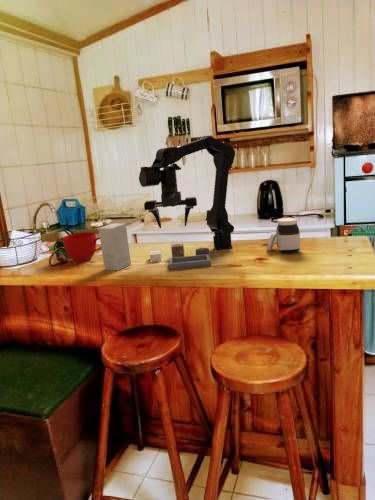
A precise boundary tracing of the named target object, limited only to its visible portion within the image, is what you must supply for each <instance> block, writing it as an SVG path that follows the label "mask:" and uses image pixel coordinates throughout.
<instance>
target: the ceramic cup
mask: <svg viewBox="0 0 375 500" xmlns="http://www.w3.org/2000/svg"><path fill="white" fill-rule="evenodd" d="M98 240H100V236H98V237H97V234H96V232H88V231H87V232H79V233H78V232H77V233H73V234H69V235H66V236H63V237H62V243H63V247H64V249H65V252H66V254H67V256H69V258H71V260H73V261H74V263H80V262H81V263H82V262H88V261H90V260H92V258H93V256H94V255H95V253H96V252H98V251H100V250H102V248H101V246H100V247H98V248H97V241H98Z"/></svg>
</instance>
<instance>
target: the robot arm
mask: <svg viewBox="0 0 375 500" xmlns="http://www.w3.org/2000/svg"><path fill="white" fill-rule="evenodd" d="M203 150H205V151H207V153H208V154H210V155H211V156H212V157H213V164H214V166H215V176H214V177H215V179H214V188H213V196H212V197H213V200H212V206H211V208H210V210H209V209H207V210H206V216H205V217H206V218H205V221H206V225H207V227H208V228H209V229H210V232H211V233H213V234H214V235H213V236H212V237H213V238H212V242H213V247H214V248H215V250H225V249H226V250H227V249H233V245H232V233H234V231H235V226H234V225H233V224H232V223H231V222H229V214H228V211H227V208H226V201H227V191H228V184H229V172H230V171H229V170H230V169H231V167H232V166H233V164H234V161H235V156H236V150H235V148H234V147H233V146H232V145H228V144H226V143H225V142H224V141H223V142H222V141H220V140H218V139H216V138H215V137H213V136H211V135H209V136H203V137H202V138H200V139H196V140H194V141H191V142H187V143H184V144H181V145H179V146H178V145H177V146H171V147H170V146H169V147H163V148H159V149H157V151H156V153H155V159H154V160H153V162H152V164H151V166H141V167H140V171H139V175H138V182H139V184H140V186H141V187H142V188H146V187H147V188H149V187H153V186H154V187H156V186H159V185H160V188H161V189H160V190H161V195H160V198H161V199H160V201H157V199H153V200H146V201H145V202H144V203H143V206H144V211H148V213H151V214H152V215H153V217H154V218H155V220H156V223H157V225H158V226H159V229H162V222H161V221H162V220H161V215H160V211H159V208H160V207H161V208H168V207H173V208H174V207H176V206H185V207H184V227H187V224H188V223H187V222H188V217H189V214H190V212H191V209H194V208H195V207H197V206H198V201H197V197H196V196H189V197H185V198H184V199H182V194H181V193H182V192H181V191H178V182H177V181H178V180H177V171H181V170H182V167H181V166H179V165H178V164H177V162H179V161H180V160H181V159H183V157H186V156H188V155H191V154H194V153H197V152H200V151H203Z"/></svg>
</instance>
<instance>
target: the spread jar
mask: <svg viewBox="0 0 375 500" xmlns="http://www.w3.org/2000/svg"><path fill="white" fill-rule="evenodd" d="M276 223H277V226H276V228H275V229H276V231H275V232H273V231H272V233H271V234H270V236H269V238H268V241H267V243H266V251H273V249H274V246H275V243H276V248H277V252H278V253H280V254H284V255H290V254H297V253H298V252H299V251H300V250H301V233H300V232H301V231H300V227H299V226H298V219H297V218H296V217H285V218H279V219H277V221H276Z"/></svg>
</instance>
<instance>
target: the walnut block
mask: <svg viewBox="0 0 375 500" xmlns="http://www.w3.org/2000/svg"><path fill="white" fill-rule="evenodd" d="M184 247H185V246H184V243H174V244H171V245H170V248H171V256H172V257H171V258H174V257H184V256H185V248H184Z"/></svg>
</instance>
